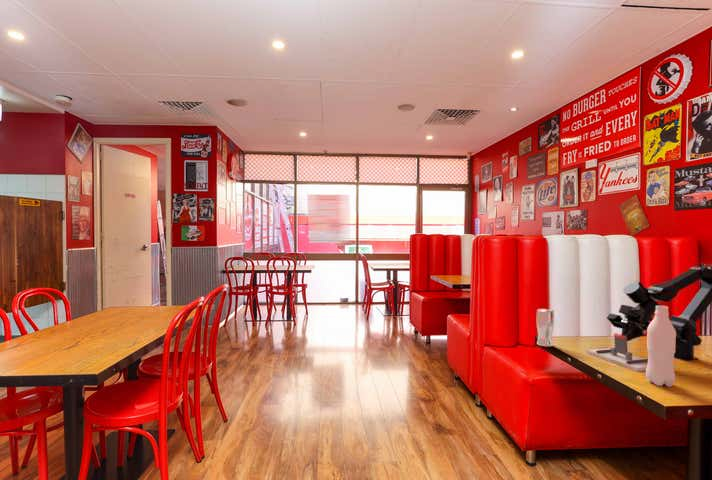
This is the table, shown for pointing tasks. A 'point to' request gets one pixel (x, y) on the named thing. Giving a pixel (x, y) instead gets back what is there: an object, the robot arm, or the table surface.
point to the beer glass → (545, 327)
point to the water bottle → (661, 348)
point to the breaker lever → (620, 343)
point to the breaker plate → (620, 358)
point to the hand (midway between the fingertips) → (622, 341)
